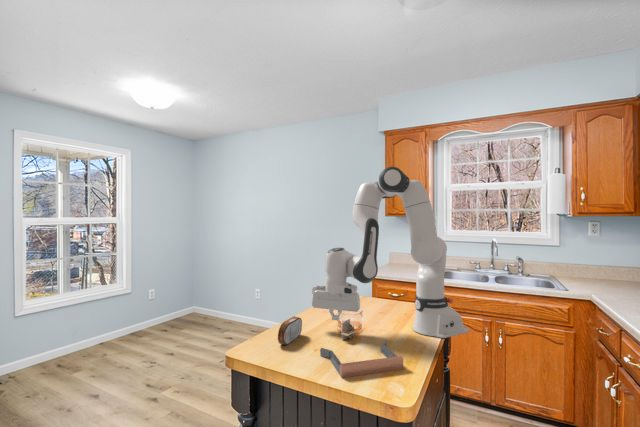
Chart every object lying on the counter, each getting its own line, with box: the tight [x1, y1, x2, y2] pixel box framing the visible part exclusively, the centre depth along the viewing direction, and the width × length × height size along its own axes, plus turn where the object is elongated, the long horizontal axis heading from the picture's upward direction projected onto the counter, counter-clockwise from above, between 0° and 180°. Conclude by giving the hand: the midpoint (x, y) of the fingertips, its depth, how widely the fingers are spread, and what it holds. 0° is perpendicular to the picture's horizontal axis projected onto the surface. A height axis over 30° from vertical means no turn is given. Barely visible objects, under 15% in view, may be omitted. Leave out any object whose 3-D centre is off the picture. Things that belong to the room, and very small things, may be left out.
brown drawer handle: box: [319, 340, 404, 379], centre depth 108 cm, size 25×17×4 cm
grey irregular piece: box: [340, 318, 358, 341], centre depth 126 cm, size 3×7×7 cm, turn 142°
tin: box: [277, 315, 303, 346], centre depth 126 cm, size 15×3×8 cm, turn 155°
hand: (335, 319), depth 136 cm, fingers closed
